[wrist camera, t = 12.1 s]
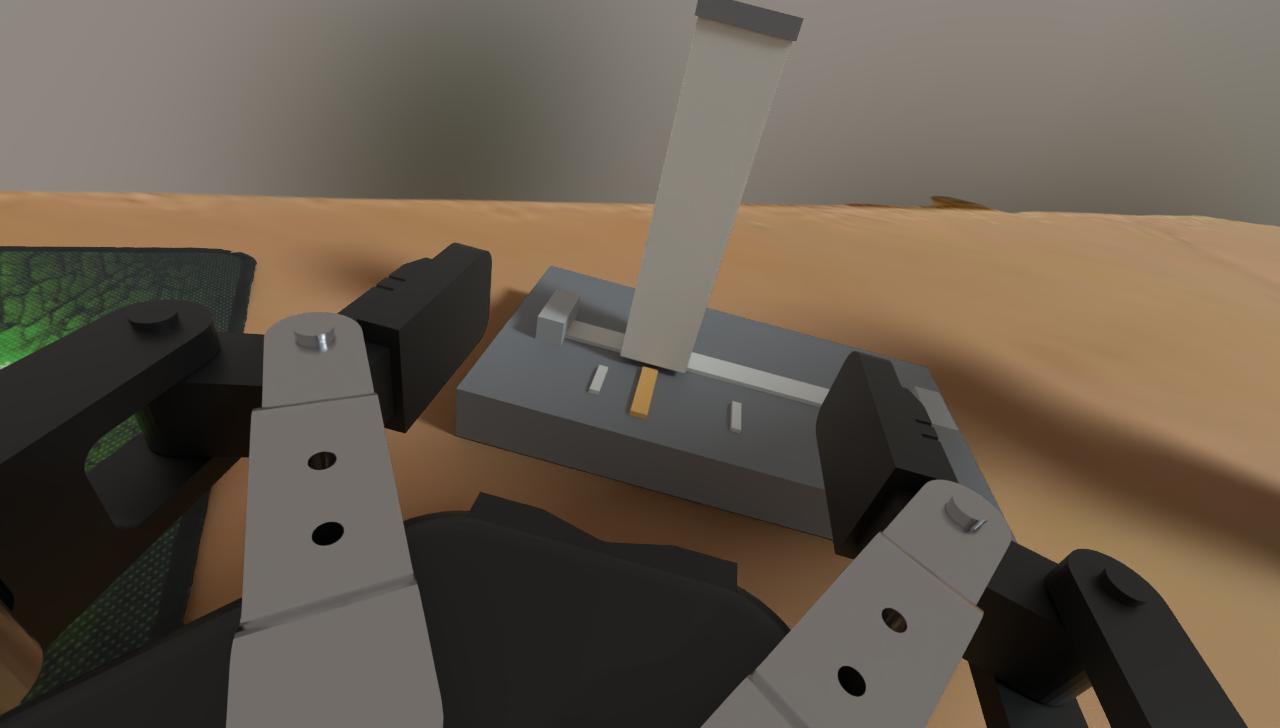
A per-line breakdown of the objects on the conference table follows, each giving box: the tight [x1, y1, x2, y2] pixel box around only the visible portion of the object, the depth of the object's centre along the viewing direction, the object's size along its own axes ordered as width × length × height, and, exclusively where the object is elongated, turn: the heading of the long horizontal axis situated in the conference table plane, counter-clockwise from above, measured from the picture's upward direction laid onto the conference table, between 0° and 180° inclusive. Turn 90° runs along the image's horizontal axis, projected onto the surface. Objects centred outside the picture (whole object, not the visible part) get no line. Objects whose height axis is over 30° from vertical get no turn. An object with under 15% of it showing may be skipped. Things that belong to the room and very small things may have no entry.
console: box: [456, 266, 1017, 543], centre depth 26 cm, size 22×12×4 cm, turn 80°
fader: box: [620, 0, 803, 373], centre depth 21 cm, size 3×3×14 cm
